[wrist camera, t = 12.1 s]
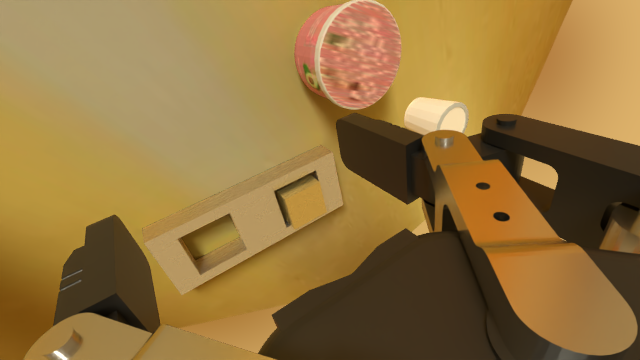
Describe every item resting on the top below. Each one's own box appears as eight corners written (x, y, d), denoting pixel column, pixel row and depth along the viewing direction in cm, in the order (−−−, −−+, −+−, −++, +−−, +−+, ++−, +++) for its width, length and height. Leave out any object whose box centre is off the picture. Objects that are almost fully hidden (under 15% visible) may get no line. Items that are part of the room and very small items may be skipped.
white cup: (396, 111, 48) (431, 123, 42) (426, 84, 49) (465, 92, 43) (408, 143, 52) (441, 157, 47) (436, 117, 53) (472, 128, 48)
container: (291, -10, 33) (331, -17, 27) (366, 15, 39) (413, 15, 33) (276, 90, 37) (309, 104, 31) (347, 100, 42) (386, 114, 36)
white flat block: (177, 279, 40) (181, 295, 38) (142, 228, 35) (143, 243, 33) (332, 196, 48) (343, 204, 46) (320, 144, 43) (332, 152, 41)
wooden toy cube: (278, 211, 44) (294, 229, 40) (269, 182, 41) (284, 199, 37) (309, 195, 46) (326, 212, 42) (301, 167, 43) (319, 181, 39)
